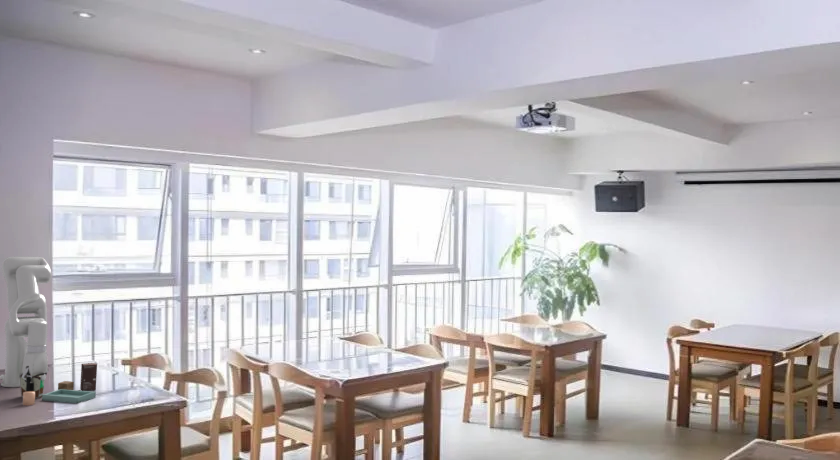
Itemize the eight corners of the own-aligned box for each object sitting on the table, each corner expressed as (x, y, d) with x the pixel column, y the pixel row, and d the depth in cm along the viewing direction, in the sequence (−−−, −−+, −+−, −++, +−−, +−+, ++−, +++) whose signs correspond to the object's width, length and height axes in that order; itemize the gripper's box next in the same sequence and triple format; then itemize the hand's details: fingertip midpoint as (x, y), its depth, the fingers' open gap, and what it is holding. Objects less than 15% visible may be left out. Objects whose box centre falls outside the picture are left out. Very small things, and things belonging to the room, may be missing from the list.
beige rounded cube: (20, 405, 285) (20, 393, 285) (28, 402, 290) (28, 390, 290) (29, 405, 285) (29, 393, 285) (37, 403, 289) (37, 391, 289)
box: (82, 391, 312) (83, 365, 312) (79, 389, 316) (81, 363, 316) (96, 390, 316) (97, 364, 316) (94, 388, 319) (95, 362, 320)
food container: (52, 395, 303) (53, 372, 302) (41, 398, 297) (41, 375, 296) (29, 392, 306) (30, 369, 306) (18, 395, 300) (18, 373, 300)
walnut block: (57, 393, 308) (58, 383, 309) (64, 390, 313) (64, 381, 313) (66, 393, 308) (67, 383, 308) (73, 391, 312) (73, 381, 312)
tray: (41, 400, 294) (42, 394, 294) (60, 394, 306) (60, 389, 306) (78, 403, 291) (78, 397, 291) (95, 397, 302) (95, 391, 302)
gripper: (43, 345, 310) (41, 385, 310) (14, 351, 293) (12, 394, 293) (58, 346, 308) (56, 386, 308) (29, 352, 291) (27, 395, 291)
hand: (34, 389), depth 301 cm, fingers closed on food container, 5 cm apart
